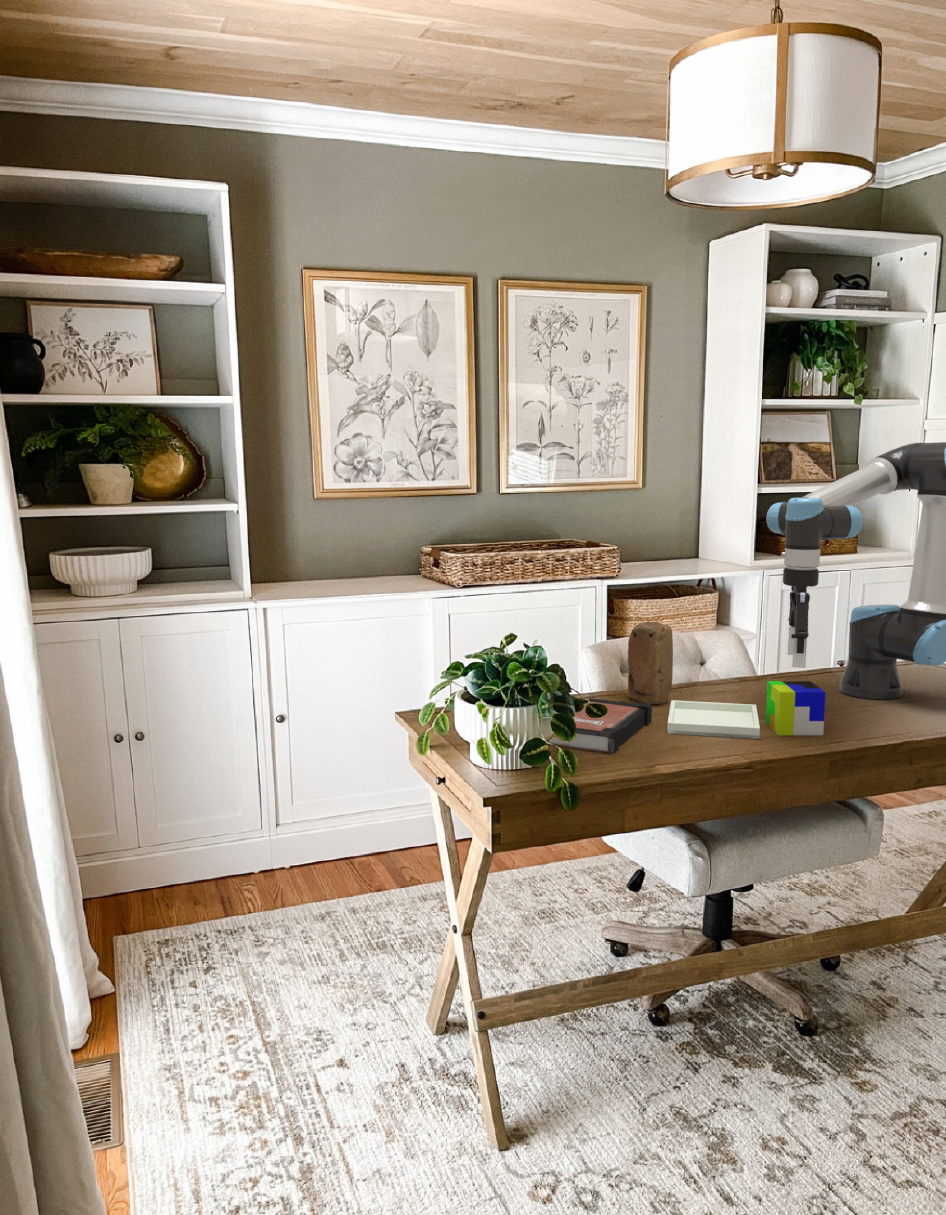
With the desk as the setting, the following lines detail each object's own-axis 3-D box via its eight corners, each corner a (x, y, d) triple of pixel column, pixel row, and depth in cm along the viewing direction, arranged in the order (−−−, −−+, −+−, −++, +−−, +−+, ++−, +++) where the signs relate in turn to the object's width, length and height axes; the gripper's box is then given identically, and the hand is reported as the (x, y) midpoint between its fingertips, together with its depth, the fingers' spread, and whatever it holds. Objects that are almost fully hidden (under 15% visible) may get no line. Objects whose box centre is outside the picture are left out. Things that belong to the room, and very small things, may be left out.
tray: (755, 714, 229) (755, 704, 228) (759, 739, 210) (759, 728, 209) (671, 710, 234) (671, 700, 233) (667, 733, 214) (667, 722, 214)
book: (582, 715, 232) (582, 695, 231) (651, 724, 224) (651, 703, 223) (538, 744, 209) (538, 722, 208) (613, 755, 201) (613, 733, 200)
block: (674, 701, 241) (676, 624, 238) (656, 707, 236) (658, 628, 233) (640, 694, 249) (641, 619, 246) (622, 699, 244) (623, 623, 241)
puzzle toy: (823, 735, 212) (825, 692, 211) (778, 735, 213) (780, 692, 211) (808, 722, 222) (810, 681, 221) (765, 722, 222) (767, 681, 221)
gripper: (779, 561, 224) (775, 649, 227) (787, 573, 200) (782, 671, 204) (813, 561, 222) (808, 650, 226) (825, 574, 198) (819, 673, 202)
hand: (796, 660), depth 215 cm, fingers open, 13 cm apart
